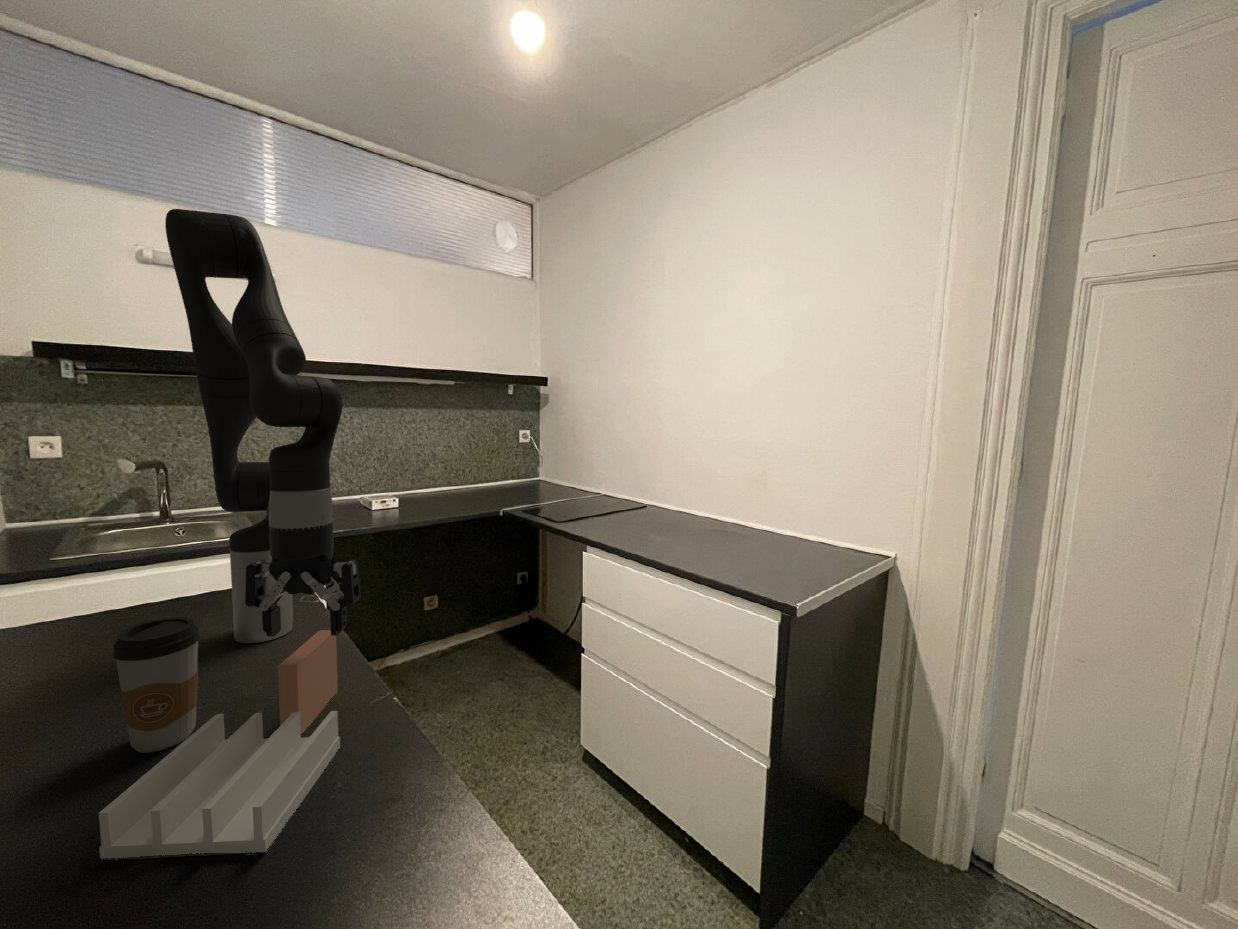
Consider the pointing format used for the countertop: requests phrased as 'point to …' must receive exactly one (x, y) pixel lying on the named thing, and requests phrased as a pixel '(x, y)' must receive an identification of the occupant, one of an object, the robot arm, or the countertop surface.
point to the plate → (308, 678)
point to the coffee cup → (158, 681)
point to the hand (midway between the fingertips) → (305, 634)
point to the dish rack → (219, 791)
